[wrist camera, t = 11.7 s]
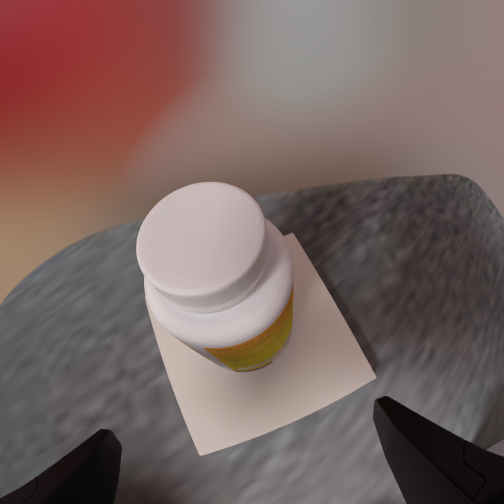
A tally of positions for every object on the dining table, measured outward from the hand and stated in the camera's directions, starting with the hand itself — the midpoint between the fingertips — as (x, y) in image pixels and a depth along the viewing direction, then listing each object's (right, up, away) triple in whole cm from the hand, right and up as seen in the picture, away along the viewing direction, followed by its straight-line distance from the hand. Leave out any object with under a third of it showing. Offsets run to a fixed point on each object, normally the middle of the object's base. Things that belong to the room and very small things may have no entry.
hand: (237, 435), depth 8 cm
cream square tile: (+1, 0, +10) cm, 10 cm away
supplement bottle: (0, +1, +9) cm, 9 cm away
